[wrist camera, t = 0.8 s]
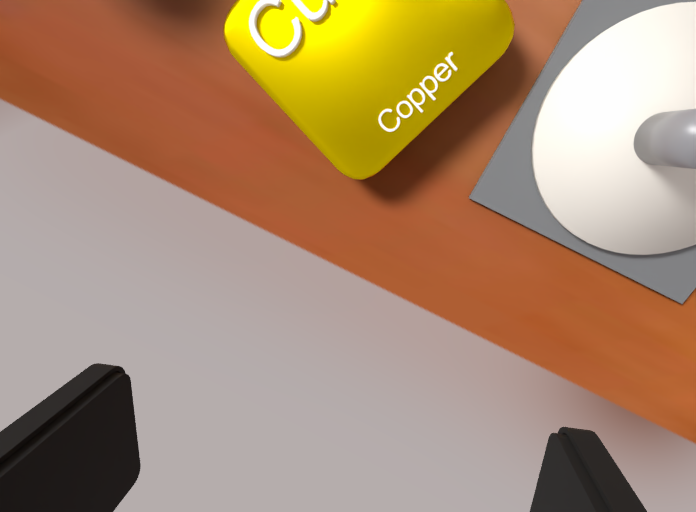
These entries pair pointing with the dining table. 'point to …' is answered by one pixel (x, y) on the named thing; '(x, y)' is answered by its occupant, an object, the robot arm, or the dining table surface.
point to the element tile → (366, 66)
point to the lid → (624, 136)
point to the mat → (517, 175)
